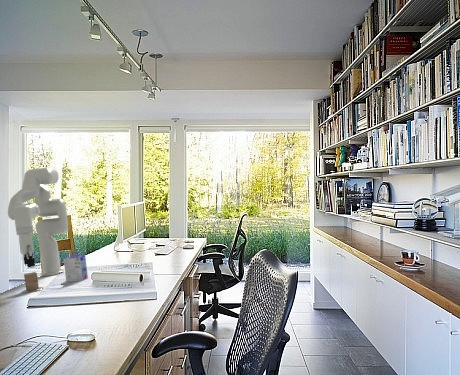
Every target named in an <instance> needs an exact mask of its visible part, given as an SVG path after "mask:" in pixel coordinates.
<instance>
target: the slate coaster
mask: <svg viewBox="0 0 460 375" xmlns="http://www.w3.org/2000/svg"><path fill="white" fill-rule="evenodd" d="M43 287H44V286H39V289H38V290H34V291H29V292H28V291H26V289H24V290H21V293H20V294H25V295H26V294H31V293H37V292H39V291H40V290H42V289H44V288H43Z"/></svg>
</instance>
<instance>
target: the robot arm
mask: <svg viewBox="0 0 460 375" xmlns="http://www.w3.org/2000/svg"><path fill="white" fill-rule="evenodd" d="M59 178H60V177H59V172H58V170H56V168H53V167H42V168H41V167H40V168H33V169H28V170H26V172H25V173H24V176H23V181H22V185H21V189H20V190H18V191H17V192H16V193H15V194H14V195H13V196H11V198H10V200H9V202H8V208H7V215H8V218H9V219H10V220H11V221H14V225H15V232H16V236H18V241H19V242H18V244H19V252H20V254H21V255H23V257H22V258H23V265H27V268H32V267H35V266H36V264H35V257H34V253H35V252H34V251H35V250H34V242H33V235H32V234H34V227H33V219H34V218H37V217H41V218H44V219H39V220H38V221H37V222H36V223H35V232H36V234H37V237H38V243H39V249H40V258H41V266H42V272H41V273H40V276H41V277H51V276H55V275H59V273H60V274H62V273H64V272H65V269H62V267H61V260H60V253H59V244H58V241H57V239H56V238H55V237H54V236H55V235H57V236H58V235H64V234H66V233H68V231H69V219H68V211H67V210H68V209H67V206H66V201H64V199H62V198H54V199H53V198H52V194H51V190H50V189H49V187H48V186H47V185H52V184H54V185H55V184H57V183H58V181H59ZM33 199H34V200H35V203H33V202H31V203H29V201H30V200H33ZM26 202H28V203H26ZM47 217H54V218H47ZM63 271H64V272H63ZM61 272H62V273H61Z"/></svg>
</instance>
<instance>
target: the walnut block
mask: <svg viewBox="0 0 460 375" xmlns="http://www.w3.org/2000/svg"><path fill="white" fill-rule="evenodd" d="M23 277H24V284H25V290H26V291H28V292H29V291H34V290H38V289H39V287H40V286H39V279H38V274H37V272H36V271H32V272H28V273H24V274H23Z"/></svg>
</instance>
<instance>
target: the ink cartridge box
mask: <svg viewBox="0 0 460 375" xmlns="http://www.w3.org/2000/svg"><path fill="white" fill-rule="evenodd" d="M63 266H64V274H65V281H67V282H66V283H68V281H69V282H81V281H84V280H88V279H89V277H88V276H89V274H88V269H87V268H88V266H87V259H86V255H85V254H84V255H79V251H71V256H67V257H65V258H63Z"/></svg>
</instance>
